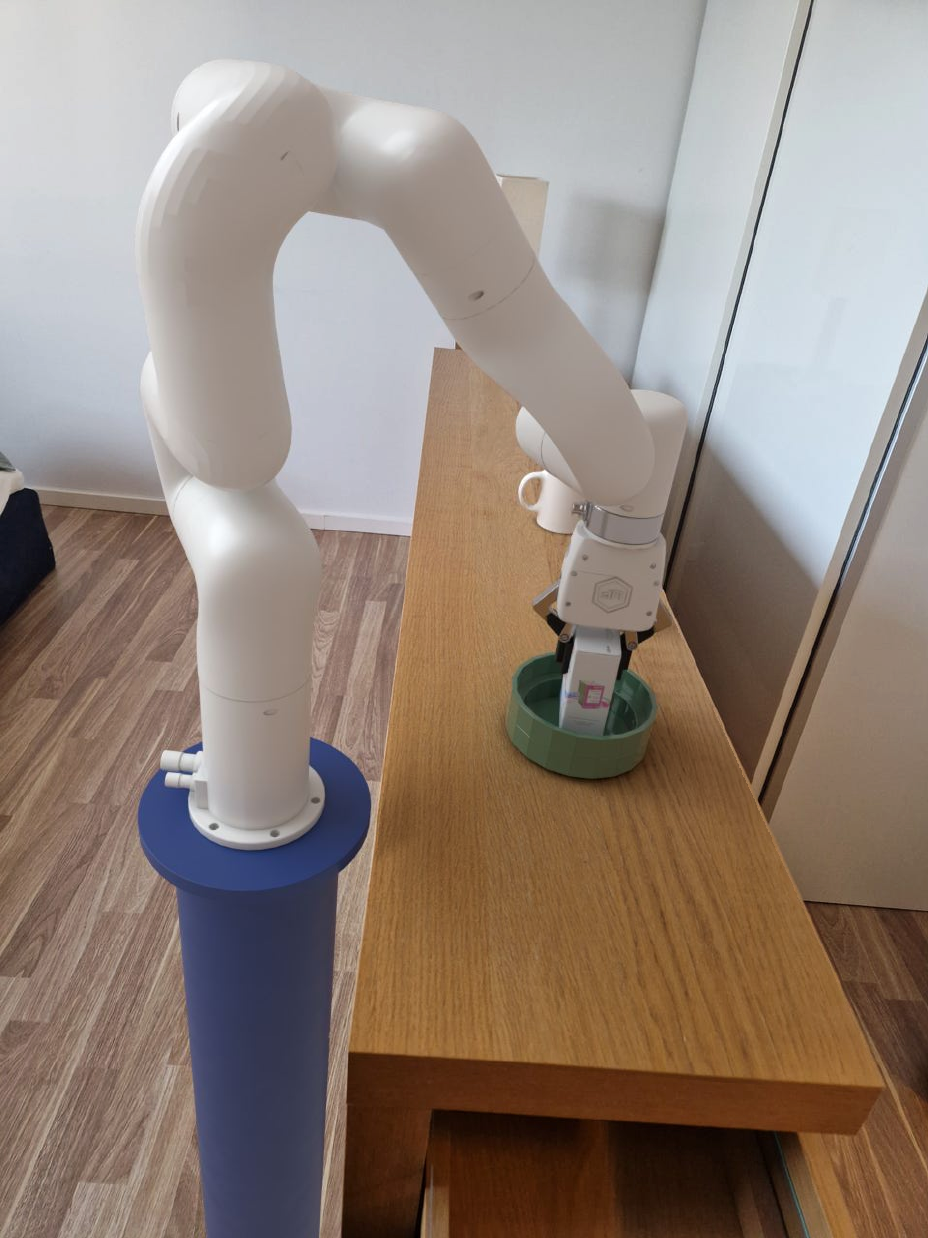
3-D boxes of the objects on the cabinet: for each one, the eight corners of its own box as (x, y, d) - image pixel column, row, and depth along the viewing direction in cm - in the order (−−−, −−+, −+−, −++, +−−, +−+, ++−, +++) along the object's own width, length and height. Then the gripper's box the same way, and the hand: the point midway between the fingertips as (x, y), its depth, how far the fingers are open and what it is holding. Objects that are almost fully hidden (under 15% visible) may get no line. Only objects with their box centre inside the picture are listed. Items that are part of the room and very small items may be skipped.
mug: (519, 532, 144) (529, 473, 139) (509, 511, 151) (518, 454, 146) (588, 534, 147) (600, 476, 141) (575, 513, 153) (586, 457, 148)
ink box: (557, 692, 102) (575, 606, 96) (599, 699, 102) (620, 613, 96) (556, 738, 95) (576, 648, 89) (601, 745, 95) (624, 655, 89)
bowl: (504, 773, 93) (512, 729, 90) (505, 684, 107) (511, 644, 104) (654, 790, 93) (667, 747, 90) (635, 700, 107) (646, 660, 104)
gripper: (538, 525, 82) (512, 681, 92) (716, 546, 83) (671, 699, 92) (536, 494, 89) (511, 642, 98) (701, 513, 89) (661, 660, 99)
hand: (589, 668), depth 95 cm, fingers closed on ink box, 5 cm apart
